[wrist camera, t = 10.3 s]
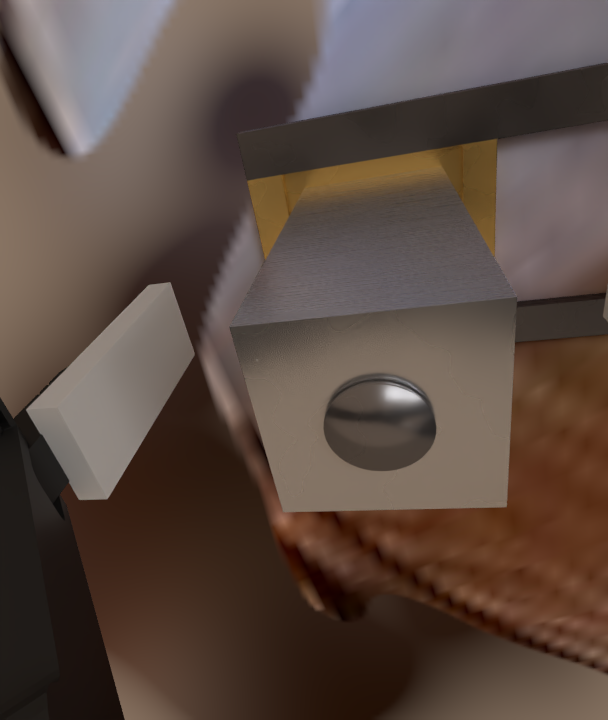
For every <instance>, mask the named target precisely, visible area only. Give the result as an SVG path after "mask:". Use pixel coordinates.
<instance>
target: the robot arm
mask: <svg viewBox="0 0 608 720" xmlns="http://www.w3.org/2000/svg"><path fill="white" fill-rule="evenodd" d="M603 317H604V318H605V319H606V320H607V322H608V286H607V293H606V299H605V306H604V313H603ZM194 355H195V353H194V350H193V347H192V345H191V342H190V339H189V336H188V333H187V330H186V327H185V324H184V321H183V318H182V316H181V312H180V309H179V307H178V304H177V301H176V298H175V295H174V292H173V289H172V286H171V283H170V282H169V283H162V284H154V285H148V286H147V288H145V289H144V290H143V291H142V292H141V293H140V295H139V296H138V297H137V298H136V299H135V300H134V301H133V302H132V303H131V304H130V305H129V306H128V307H127V308H126V309H125V310H124V311H123V312H122V313H121V314H120V315H119V316H118V317H117V318H116V319H115V320H114V321H113V322H112V323H111V324H110V325H109V326H108V327H107V328H106V329H105V330H104V331H103V332H102V333H101V334H100V335H99V336H98V337H97V338H96V339H95V340H94V341H93V342H92V343H91V344H90V345H89V346H88V347H87V348H86V349H85V350H84V351H83V352H82V353H81V354H80V355H79V356H78V357H77V359H75V361H73V363H72V364H71V365H70V366H68V367H67V368H65V369H64V370H62V371H61V372H59V373H58V374H57V376H55V377H54V378H53V379H52V381H50V383H49V385H47V386H45V388H43V390H41V392H40V395H37V396H36V397H35V398H34V399H33V400H32V401H31V402H30V403H29V404H28V405H27V406H26V407H25V408H24V409H23V410H22V411H21V412H20V413H19V414H18V415H17V416H16V417H15V418H14V419H13V418H12V416H11V414H10V413H9V411H8V410H7V408H6V406H5V405H4V403H3V402H2V400H1V398H0V720H125V719H124V716H123V712H122V708H121V705H120V701H119V697H118V694H117V690H116V686H115V682H114V679H113V675H112V672H111V668H110V664H109V661H108V657H107V653H106V650H105V646H104V642H103V638H102V635H101V631H100V627H99V623H98V620H97V616H96V612H95V609H94V605H93V601H92V598H91V594H90V590H89V587H88V583H87V579H86V575H85V572H84V568H83V565H82V561H81V557H80V554H79V550H78V546H77V542H76V539H75V535H74V531H73V528H72V524H71V520H70V516H69V513H68V509H67V505H66V504H65V502H64V500H63V499H62V497H61V496H60V493H61V492H62V490H63V489H64V488H65V486H66V485H67V484H68V482H69V483H70V485H71V487H72V489H73V490H74V492H75V493H76V495H77V497H78V499H79V500H92V499H108V497H109V496H110V494H111V492H112V491H113V489H114V487H115V486H116V484H117V482H118V481H119V479H120V477H121V476H122V474H123V473H124V471H125V469H126V468H127V466H128V464H129V463H130V461H131V459H132V458H133V456H134V454H135V453H136V451H137V449H138V448H139V446H140V444H141V443H142V441H143V440H144V438H145V436H146V434H147V433H148V431H149V430H150V428H151V426H152V425H153V423H154V421H155V419H156V418H157V416H158V415H159V413H160V411H161V410H162V408H163V406H164V405H165V403H166V401H167V400H168V398H169V396H170V395H171V393H172V391H173V390H174V388H175V387H176V385H177V383H178V382H179V380H180V378H181V377H182V375H183V373H184V372H185V370H186V368H187V367H188V365H189V363H190V362H191V360H192V358H193V357H194Z"/></svg>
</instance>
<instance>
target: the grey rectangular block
mask: <svg viewBox="0 0 608 720" xmlns="http://www.w3.org/2000/svg"><path fill="white" fill-rule="evenodd" d="M516 308H517V296H516V294H515V293H514V291H513V289H512V287H511V286H510V284H509V282H508V280H507V279H506V277H505V275H504V274H503V272H502V270H501V268H500V267H499V265H498V263H497V261H496V260H495V258H494V256H493V254H492V253H491V251H490V249H489V247H488V246H487V244H486V242H485V240H484V239H483V237H482V235H481V233H480V232H479V230H478V228H477V226H476V225H475V223H474V221H473V219H472V218H471V216H470V214H469V213H468V211H467V209H466V207H465V206H464V204H463V202H462V200H461V199H460V197H459V195H458V193H457V192H456V190H455V188H454V186H453V185H452V183H451V181H450V179H449V178H448V176H447V174H446V172H445V171H444V169H443V167H442V166H441V167H434V168H428V169H422V170H416V171H409V172H403V173H397V174H391V175H384V176H378V177H372V178H366V179H359V180H353V181H347V182H341V183H334V184H328V185H322V186H316V187H309V188H304V190H303V192H302V194H301V195H300V197H299V199H298V201H297V203H296V205H295V206H294V208H293V210H292V212H291V214H290V216H289V218H288V219H287V221H286V223H285V225H284V227H283V229H282V231H281V232H280V234H279V236H278V238H277V240H276V242H275V244H274V245H273V247H272V249H271V251H270V253H269V255H268V257H267V258H266V260H265V262H264V264H263V266H262V268H261V269H260V271H259V273H258V275H257V277H256V279H255V281H254V282H253V284H252V286H251V288H250V290H249V292H248V294H247V295H246V297H245V299H244V301H243V303H242V305H241V307H240V308H239V310H238V312H237V314H236V316H235V318H234V320H233V321H232V323H231V325H230V331H231V334H232V338H233V341H234V345H235V348H236V352H237V355H238V358H239V362H240V365H241V369H242V372H243V376H244V379H245V382H246V386H247V389H248V393H249V396H250V400H251V403H252V406H253V410H254V413H255V417H256V420H257V424H258V427H259V430H260V434H261V437H262V441H263V444H264V448H265V451H266V454H267V458H268V461H269V465H270V468H271V472H272V475H273V479H274V482H275V485H276V489H277V492H278V496H279V499H280V503H281V506H282V509H283V512H312V511H356V510H400V509H445V508H489V507H507V490H508V470H509V450H510V430H511V409H512V389H513V369H514V349H515V328H516Z"/></svg>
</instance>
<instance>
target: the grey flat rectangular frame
mask: <svg viewBox="0 0 608 720" xmlns="http://www.w3.org/2000/svg"><path fill="white" fill-rule="evenodd" d="M606 120H608V63H603V64H598V65H593V66H587V67H582V68H577V69H571V70H566V71H561V72H556V73H550V74H545V75H540V76H534V77H529V78H524V79H518V80H513V81H508V82H503V83H497V84H492V85H487V86H481V87H476V88H471V89H466V90H460V91H455V92H450V93H444V94H439V95H434V96H428V97H423V98H418V99H413V100H407V101H402V102H397V103H391V104H386V105H381V106H376V107H370V108H365V109H360V110H354V111H349V112H344V113H339V114H333V115H328V116H323V117H317V118H312V119H307V120H301V121H296V122H291V123H286V124H280V125H275V126H270V127H265V128H259V129H254V130H249V131H243V132H239V133H237V139H238V143H239V148H240V152H241V156H242V161H243V165H244V170H245V174H246V178H247V182H248V187H249V191H250V196H251V200H252V204H253V209H254V213H255V217H256V222H257V226H258V231H259V235H260V239H261V244H262V248H263V252H264V257H265V260H266V258H267V257H268V255H269V253H270V251H271V249H272V247H273V245H274V244H275V242H276V240H277V238H278V236H279V234H280V232H281V231H282V229H283V227H284V225H285V223H286V221H287V219H288V218H289V216H290V214H291V212H292V210H293V208H294V206H295V205H296V203H297V201H298V199H299V197H300V195H301V194H302V192H303V190H304V188H309V187H316V186H322V185H328V184H334V183H341V182H347V181H353V180H359V179H366V178H372V177H378V176H384V175H391V174H397V173H403V172H409V171H416V170H422V169H428V168H434V167H441V166H442V167H443V169H444V171H445V172H446V174H447V176H448V178H449V179H450V181H451V183H452V185H453V186H454V188H455V190H456V192H457V193H458V195H459V197H460V199H461V200H462V202H463V204H464V206H465V207H466V209H467V211H468V213H469V214H470V216H471V218H472V219H473V221H474V223H475V225H476V226H477V228H478V230H479V232H480V233H481V235H482V237H483V239H484V240H485V242H486V244H487V246H488V247H489V249H490V251H491V253H492V254H493V256H495V212H496V167H497V139H499V138H505V137H511V136H517V135H523V134H529V133H535V132H541V131H547V130H553V129H558V128H564V127H570V126H576V125H582V124H588V123H594V122H600V121H606ZM605 299H606V293H598V294H588V295H579V296H569V297H559V298H549V299H540V300H530V301H520V302H517V308H516V328H515V342H523V341H534V340H546V339H557V338H569V337H581V336H592V335H604V334H608V322H607V320H606V319H605V318H604V317H603V313H604V306H605Z"/></svg>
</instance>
